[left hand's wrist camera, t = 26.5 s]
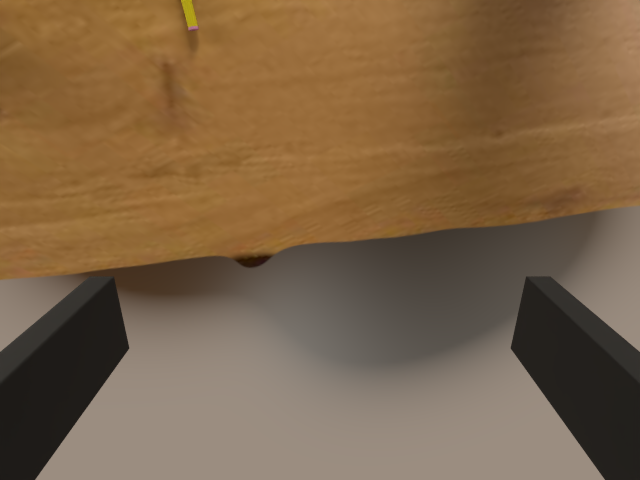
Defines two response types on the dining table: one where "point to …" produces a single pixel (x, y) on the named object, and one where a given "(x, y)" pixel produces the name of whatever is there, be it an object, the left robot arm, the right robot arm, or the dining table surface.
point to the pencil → (190, 15)
